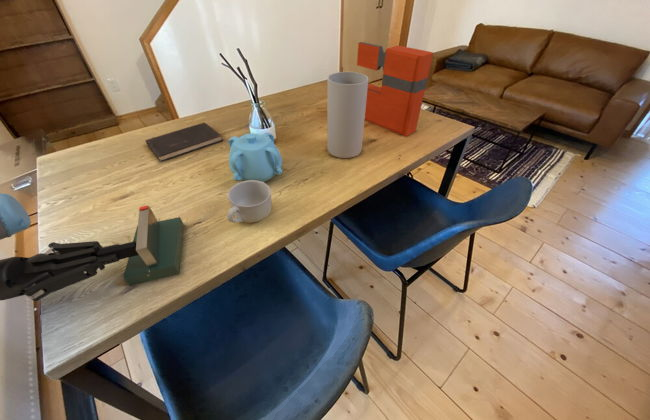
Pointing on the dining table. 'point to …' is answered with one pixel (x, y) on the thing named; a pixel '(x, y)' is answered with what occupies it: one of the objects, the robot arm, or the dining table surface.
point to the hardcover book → (183, 141)
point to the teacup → (249, 201)
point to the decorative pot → (254, 157)
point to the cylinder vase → (346, 113)
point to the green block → (167, 254)
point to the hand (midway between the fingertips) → (137, 248)
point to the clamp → (395, 85)
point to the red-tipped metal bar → (148, 237)
